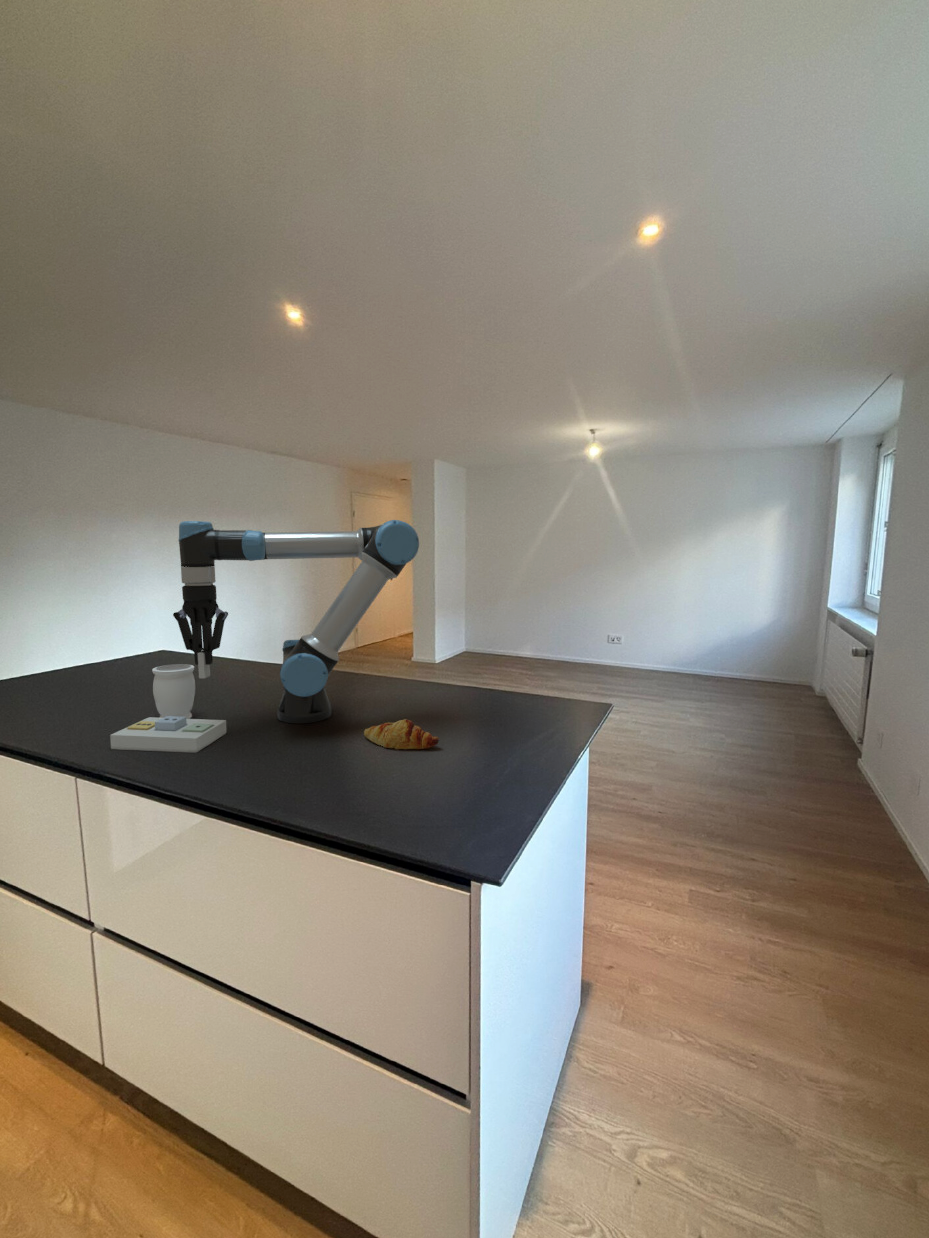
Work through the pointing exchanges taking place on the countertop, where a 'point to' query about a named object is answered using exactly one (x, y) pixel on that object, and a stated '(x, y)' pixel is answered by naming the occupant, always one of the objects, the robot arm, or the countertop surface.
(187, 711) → the jar
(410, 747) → the croissant
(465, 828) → the countertop surface
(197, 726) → the tile one
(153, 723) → the tile three
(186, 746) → the button board
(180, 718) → the tile two
